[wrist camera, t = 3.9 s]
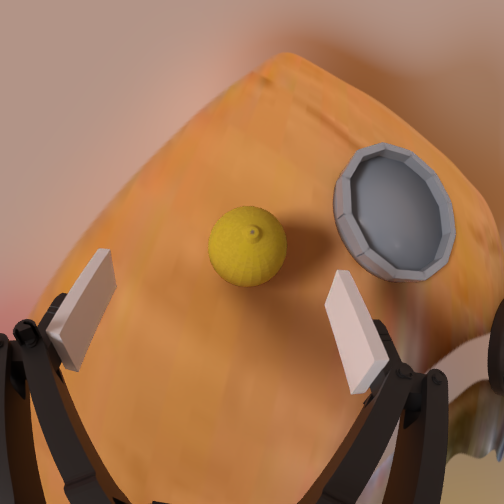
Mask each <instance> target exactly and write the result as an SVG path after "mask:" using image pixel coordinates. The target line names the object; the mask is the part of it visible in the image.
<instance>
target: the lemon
mask: <svg viewBox="0 0 504 504" xmlns="http://www.w3.org/2000/svg"><path fill="white" fill-rule="evenodd" d="M286 250H287V241H286V234H285V232H284V230H283V227H282V225H281V224H280V222H279V221H278V220H277V218H276V217H274V216H273V215H272V214H271V213H270V212H268V211H266V210H264V209H262V208H258V207H254V206H243V207H239V208H235V209H233V210H231V211H229V212H227V213H225V214H224V215H223V216H222V217H221V218H220V219H219V220H218V221H217V223H216V224H215V226H214V227H213V229H212V231H211V234H210V237H209V242H208V253H209V258H210V262H211V264H212V265H213V267H214V269H215V271H216V272H217V273H218V274H219V275H220V277H221V278H223V279H224V280H226V281H227V282H229V283H231V284H234V285H237V286H242V287H252V286H258V285H260V284H262V283H265V282H267V281H268V280H270V279H271V278H272V277H273V276H275V275H276V274H277V272H278V271H279V269H280V268H281V267H282V265H283V262H284V259H285V257H286Z"/></svg>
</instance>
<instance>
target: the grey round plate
mask: <svg viewBox="0 0 504 504" xmlns="http://www.w3.org/2000/svg"><path fill="white" fill-rule="evenodd" d="M333 213H334V218H335V223H336V226H337V229H338V232H339V235H340V237H341V239H342V241H343V243H344V245H345V247H346V248H347V250H348V251H349V253H350V254H351V255H352V257H353V258H354V259H355V260H356V261H357V262H358V264H359V265H361V266H362V267H363V268H364V269H365V270H366V271H368V272H369V273H371V274H372V275H374V276H376V277H378V278H380V279H382V280H386V281H389V282H395V283H403V282H420V281H424V280H427V279H428V278H429V277H430V276H432V275H433V274H434V273H436V272H437V271H438V270H439V269H441V268H442V267H443V266H444V265H446V264H447V262H448V259H449V256H450V253H451V250H452V246H453V243H454V240H455V236H456V235H455V234H456V231H455V223H454V215H453V208H452V203H451V200H450V198H449V196H448V194H447V192H446V190H445V189H444V187H443V185H442V183H441V181H440V179H439V178H438V176H437V174H436V173H435V171H434V170H432V169H431V168H430V167H429V166H428V165H427V164H426V163H425V162H424V161H422V160H421V159H420V158H419V157H418V156H417V155H416V154H414V153H413V152H412V151H410V150H407V149H404V148H401V147H397V146H394V145H391V144H387V143H383V142H382V143H379V144H375V145H372V146H369V147H366V148H362V149H359V150H357V151H356V153H355V154H354V155H353V156H352V158H351V159H350V161H349V162H348V164H347V166H346V167H345V168H344V170H343V171H342V172H341V174H340V176H339V178H338V180H337V182H336V185H335V188H334V194H333Z"/></svg>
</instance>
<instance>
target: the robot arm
mask: <svg viewBox="0 0 504 504" xmlns="http://www.w3.org/2000/svg"><path fill="white" fill-rule="evenodd" d="M116 287H117V285H116V280H115V275H114V269H113V264H112V258H111V251H110V249H101V248H99V249H98V250H97V252H96V253H95V254H94V256H93V257H92V259H91V260H90V261H89V263H88V264H87V266H86V267H85V269H84V270H83V272H82V273H81V274H80V276H79V277H78V279H77V280H76V282H75V283H74V285H73V287H72V288H71V290H70V291H69V293H68V294H66V293H61V294H60V295H59V296H57V297H56V298H55V299H54V301H53V302H52V304H51V305H50V307H49V308H48V310H47V312H46V313H45V315H44V316H43V318H42V320H41V321H40V323H39V325H38V326H36V324H35V322H34V321H33V320H30V319H25V320H22V321H20V322H18V323H17V325H15V328H14V329H13V335H14V337H15V338H16V340H13V341H9V339H8V337H7V336H6V335H5V334H2V333H0V504H46V501H45V497H44V493H43V489H42V485H41V480H40V476H39V471H38V466H37V460H36V454H35V448H34V440H33V432H32V422H31V410H30V393H31V397H32V401H33V404H34V407H35V411H36V414H37V417H38V420H39V423H40V426H41V428H42V431H43V434H44V437H45V439H46V442H47V444H48V447H49V449H50V452H51V454H52V457H53V459H54V461H55V463H56V466H57V468H58V470H59V472H60V474H61V476H62V478H63V480H64V483H65V486H64V491H65V494H66V496H67V498H68V500H69V502H70V503H71V504H131V502H130V501H129V500H128V498H127V497H126V496H125V494H124V493H123V492H122V491H121V490H120V489H119V488H118V486H117V485H116V483H115V482H114V480H113V479H112V477H111V476H110V474H109V472H108V471H107V469H106V467H105V466H104V464H103V462H102V460H101V459H100V457H99V455H98V453H97V451H96V450H95V448H94V446H93V444H92V442H91V440H90V438H89V436H88V434H87V432H86V430H85V428H84V426H83V424H82V422H81V419H80V417H79V415H78V413H77V410H76V408H75V406H74V403H73V401H72V399H71V396H70V394H69V391H68V389H67V386H66V383H65V381H64V378H63V375H62V372H61V370H60V368H59V367H60V364H61V362H62V363H63V365H64V367H65V368H66V369H69V370H72V371H76V372H79V369H80V367H81V364H82V362H83V359H84V357H85V354H86V352H87V350H88V347H89V345H90V343H91V340H92V338H93V336H94V334H95V331H96V329H97V327H98V325H99V323H100V320H101V318H102V316H103V314H104V312H105V310H106V308H107V306H108V304H109V302H110V299H111V297H112V295H113V293H114V291H115V289H116ZM325 308H326V311H327V314H328V317H329V321H330V324H331V327H332V330H333V333H334V337H335V340H336V343H337V347H338V350H339V353H340V357H341V360H342V364H343V367H344V371H345V374H346V378H347V381H348V385H349V388H350V392H351V394H360V393H365V392H366V391H367V389H368V388H369V387H370V389H371V392H372V393H371V394H370V395H369V397H368V398H367V399H366V400H365V401H364V403H363V404H365V405H364V406H363V408H362V410H361V412H360V414H359V415H358V417H357V419H356V421H355V422H354V424H353V426H352V427H351V429H350V431H349V432H348V434H347V436H346V437H345V439H344V440H343V442H342V443H341V445H340V447H339V448H338V450H337V451H336V453H335V454H334V456H333V457H332V459H331V460H330V462H329V463H328V464H327V466H326V467H325V469H324V470H323V472H322V473H321V474H320V476H319V477H318V478H317V480H316V481H315V482H314V484H313V485H312V486H311V488H310V489H309V490H308V492H307V493H306V494H305V495H304V497H303V498H302V499H301V500H300V501H299V502H298V503H297V504H355V503H356V501H357V499H358V498H359V496H360V494H361V493H362V491H363V489H364V488H365V486H366V484H367V483H368V481H369V479H370V477H371V476H372V474H373V472H374V470H375V468H376V466H377V464H378V463H379V460H380V459H381V457H382V455H383V453H384V451H385V449H386V447H387V444H388V442H389V440H390V438H391V436H392V434H393V431H394V429H395V427H396V425H397V422H398V420H399V418H400V423H399V429H398V435H397V441H396V447H395V452H394V457H393V462H392V466H391V471H390V475H389V479H388V483H387V487H386V491H385V495H384V498H383V502H382V504H440V500H441V494H442V488H443V481H444V474H445V465H446V455H447V441H448V381H447V377H446V375H445V374H444V373H443V372H442V371H440V370H438V369H431V370H430V371H429V372H428V373H427V374H421V373H415V372H414V371H413V370H412V368H411V367H410V366H409V365H407V364H406V363H403V362H401V359H400V357H399V355H398V353H397V350H396V348H395V346H394V344H393V341H391V340H392V339H391V337H390V335H389V333H388V331H387V329H386V326H385V325H384V324H383V323H382V322H381V321H380V320H372V318H371V316H370V314H369V312H368V310H367V307H366V305H365V303H364V301H363V299H362V297H361V295H360V293H359V290H358V288H357V286H356V284H355V282H354V280H353V278H352V276H351V274H350V272H349V271H347V270H337V271H336V274H335V277H334V280H333V283H332V286H331V289H330V291H329V294H328V297H327V300H326V302H325ZM488 376H489V381H490V384H491V387H492V389H493V390H494V392H495V393H496V394H498V395H502V396H504V300H503V301H502V303H501V304H500V306H499V308H498V311H497V313H496V316H495V319H494V322H493V326H492V330H491V334H490V340H489V348H488ZM152 504H168V503H162V502H156V501H152Z"/></svg>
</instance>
